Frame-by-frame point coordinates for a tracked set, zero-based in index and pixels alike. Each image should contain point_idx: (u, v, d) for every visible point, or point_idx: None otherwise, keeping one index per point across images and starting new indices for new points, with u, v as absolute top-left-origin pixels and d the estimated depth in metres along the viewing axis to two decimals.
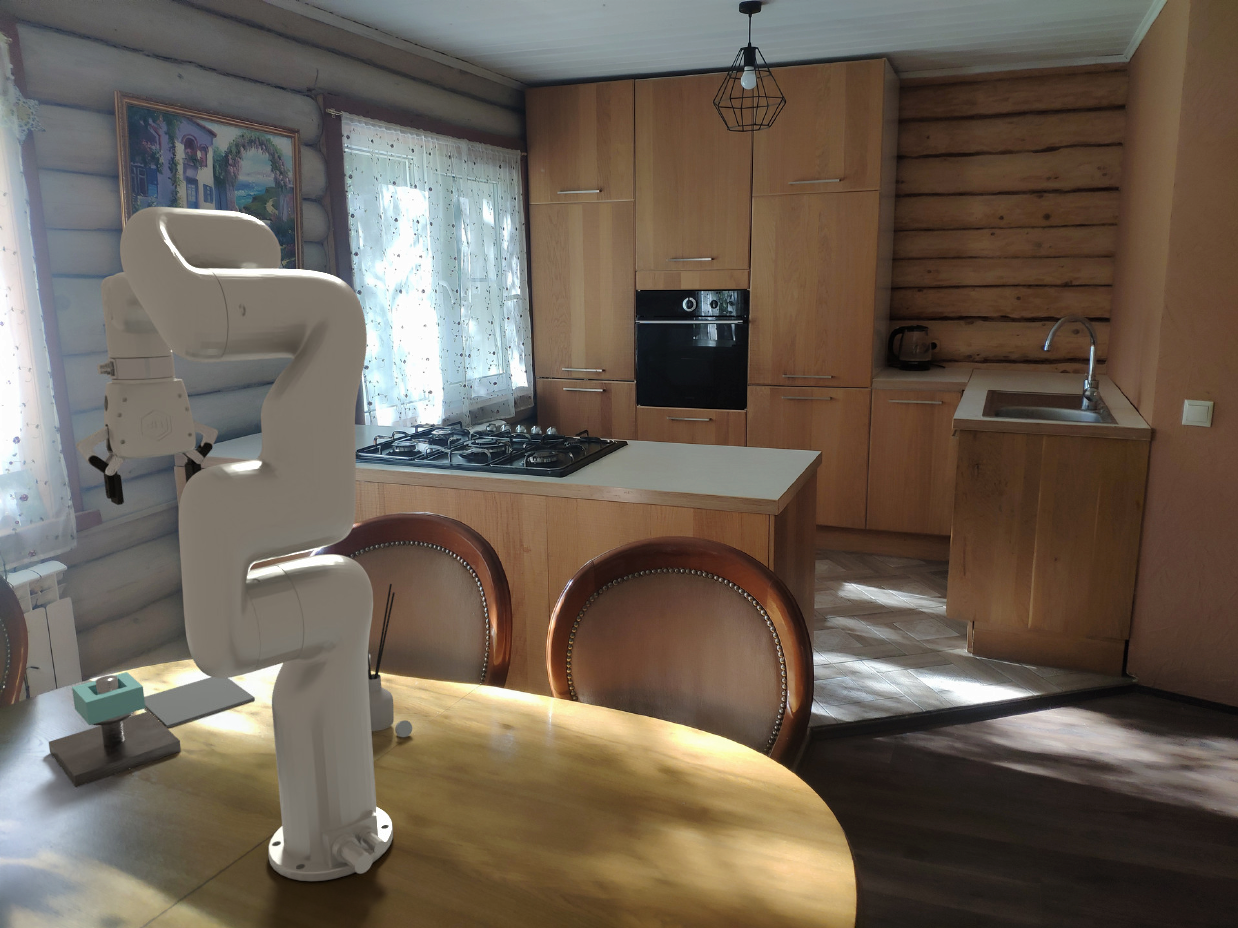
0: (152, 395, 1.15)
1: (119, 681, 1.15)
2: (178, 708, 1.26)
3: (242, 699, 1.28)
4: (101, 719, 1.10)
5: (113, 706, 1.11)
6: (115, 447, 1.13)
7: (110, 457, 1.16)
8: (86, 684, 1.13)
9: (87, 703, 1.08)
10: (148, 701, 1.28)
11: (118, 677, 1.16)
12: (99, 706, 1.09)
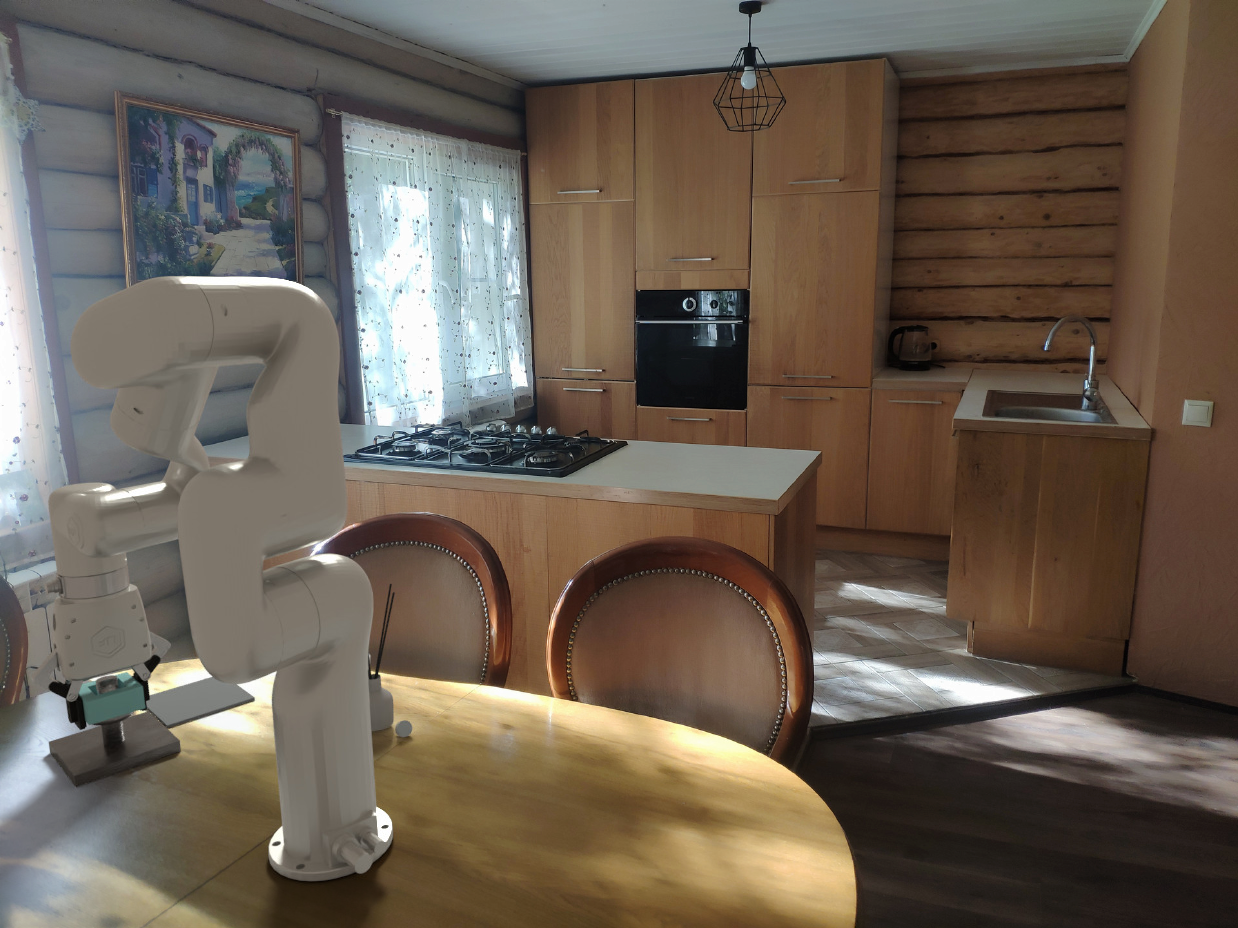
0: (103, 611, 1.09)
1: (119, 681, 1.15)
2: (178, 708, 1.26)
3: (242, 699, 1.28)
4: (101, 719, 1.10)
5: (113, 706, 1.11)
6: (63, 670, 1.07)
7: None
8: (86, 684, 1.13)
9: (87, 703, 1.08)
10: (148, 701, 1.28)
11: (118, 677, 1.16)
12: (99, 706, 1.09)
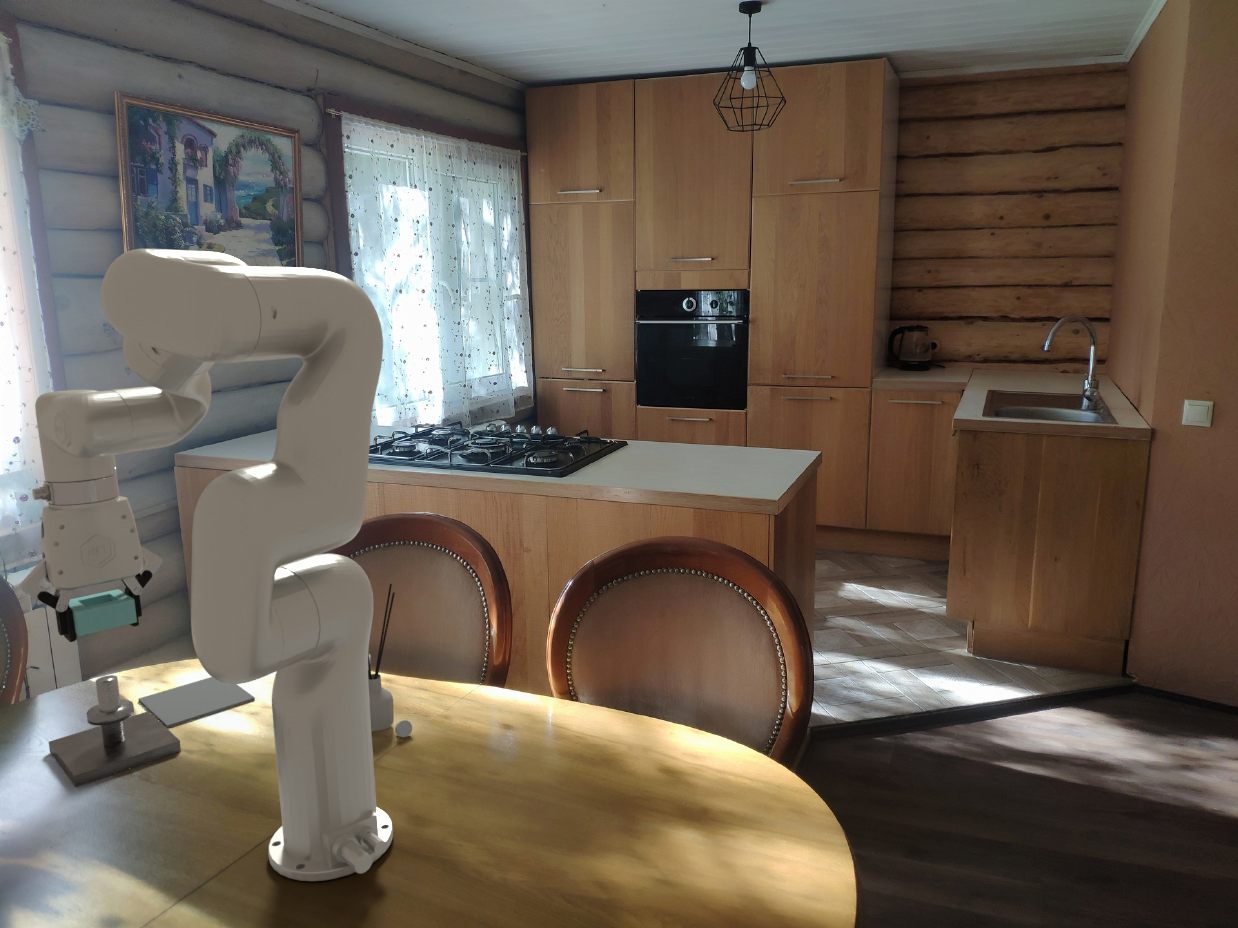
0: (93, 519, 1.07)
1: (110, 597, 1.13)
2: (178, 708, 1.26)
3: (242, 699, 1.28)
4: (92, 631, 1.07)
5: (104, 618, 1.08)
6: (52, 578, 1.05)
7: (58, 590, 1.08)
8: (77, 599, 1.11)
9: (77, 613, 1.06)
10: (148, 701, 1.28)
11: (109, 593, 1.13)
12: (89, 617, 1.07)
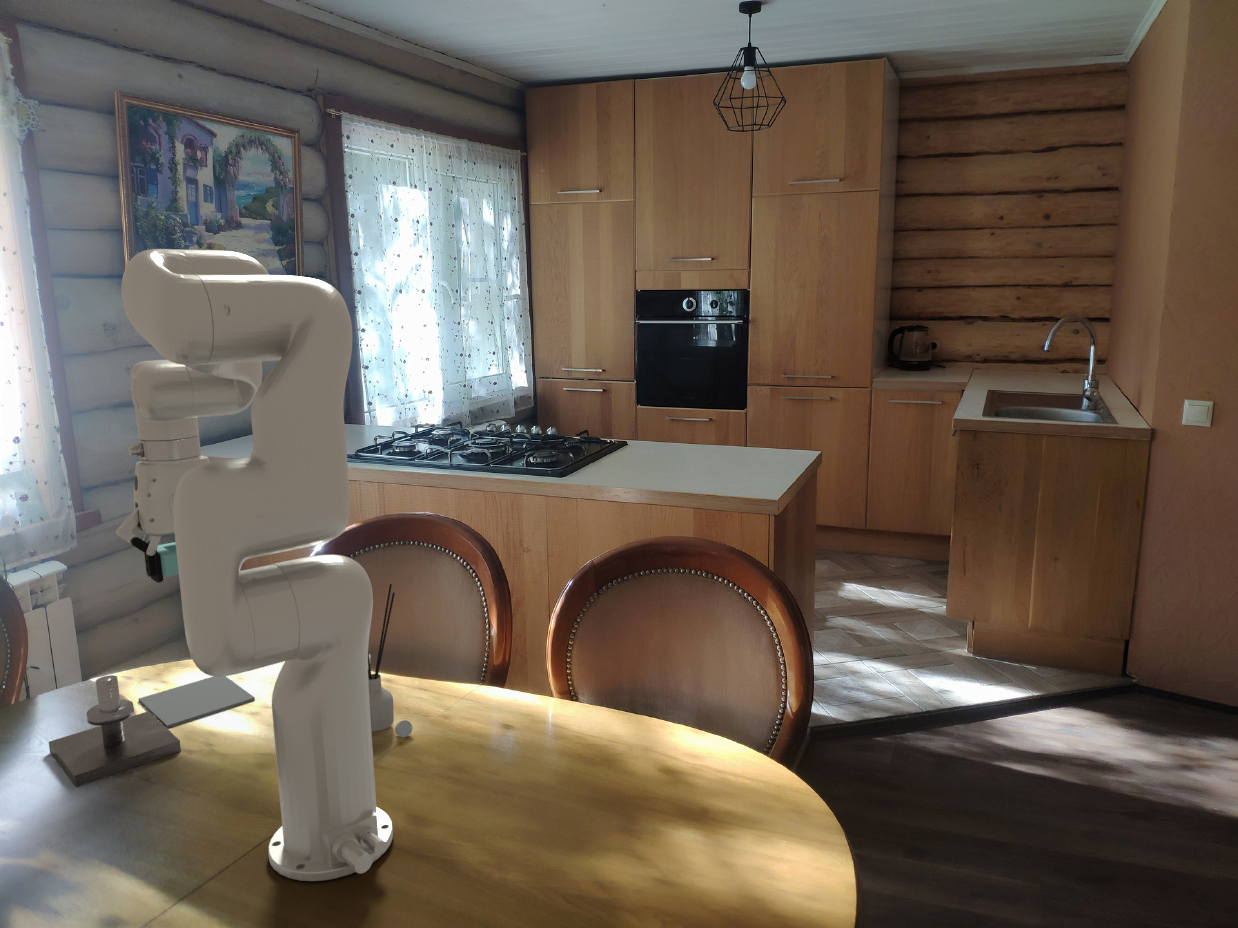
0: (179, 474, 1.21)
1: None
2: (178, 708, 1.26)
3: (242, 699, 1.28)
4: (177, 573, 1.22)
5: None
6: (145, 525, 1.19)
7: (147, 536, 1.22)
8: (161, 545, 1.25)
9: (165, 556, 1.20)
10: (148, 701, 1.28)
11: None
12: (175, 560, 1.21)
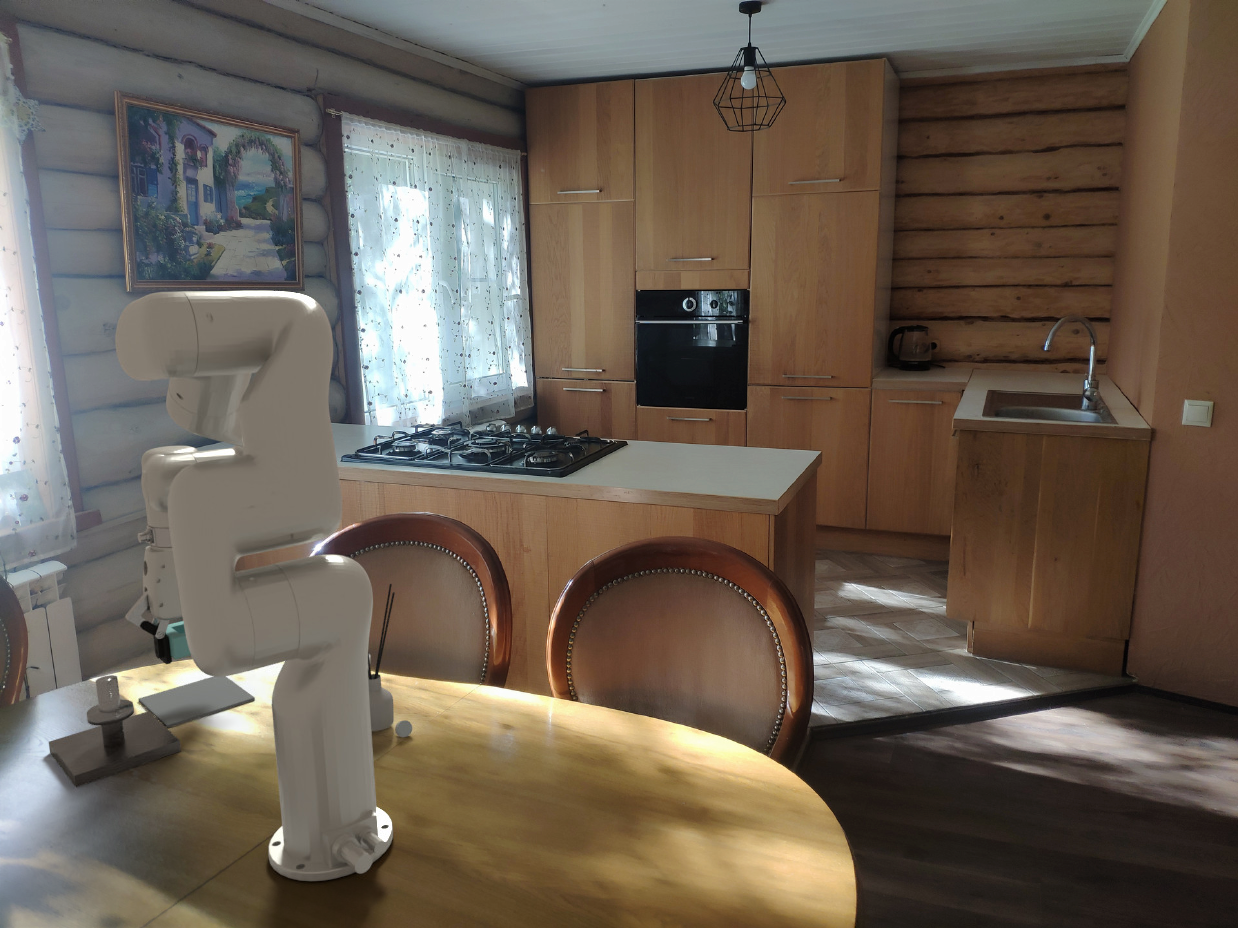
0: None
1: None
2: (178, 708, 1.26)
3: (242, 699, 1.28)
4: (185, 655, 1.24)
5: None
6: (154, 610, 1.21)
7: (156, 619, 1.25)
8: (169, 625, 1.28)
9: (173, 640, 1.23)
10: (148, 701, 1.28)
11: None
12: (183, 643, 1.24)
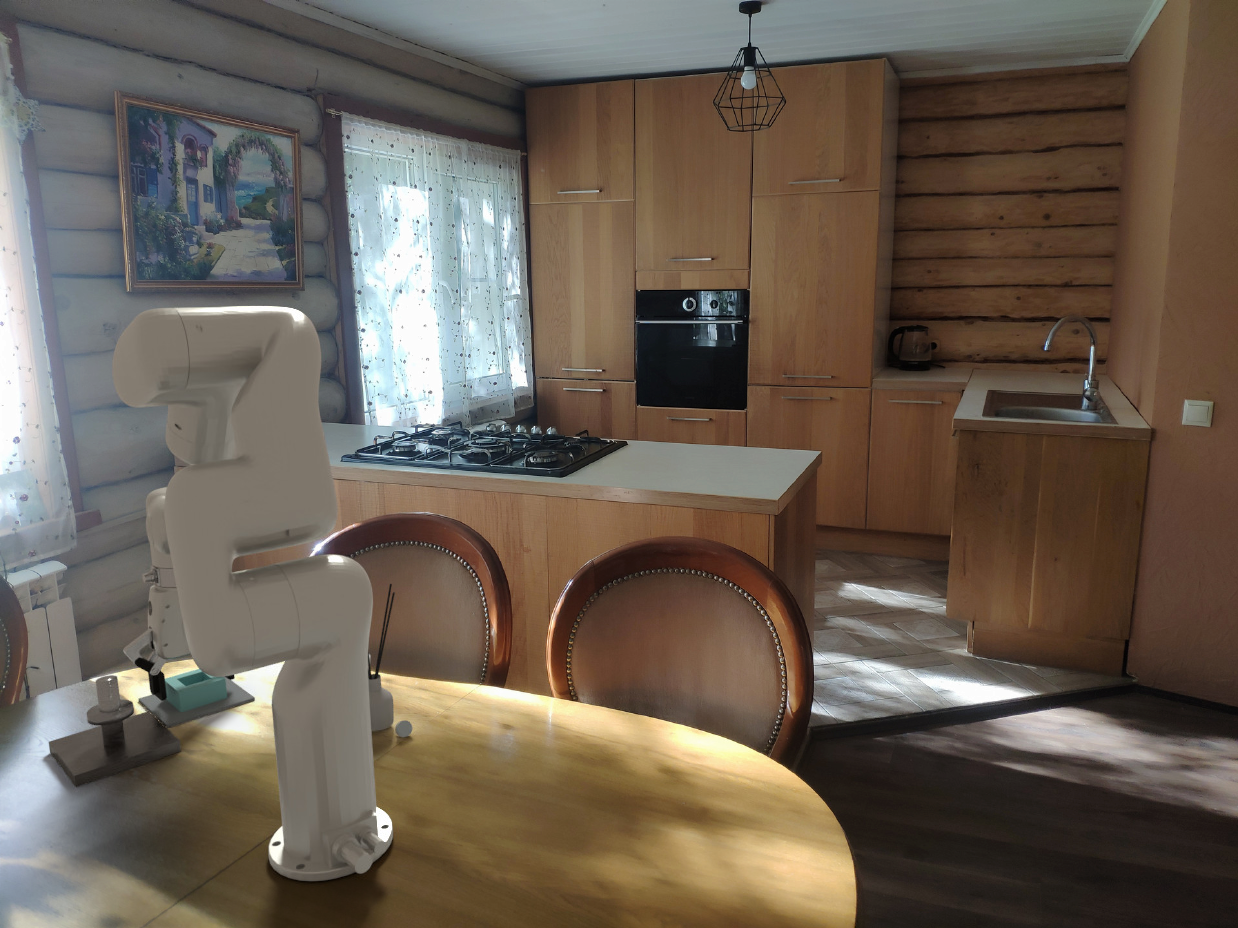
0: None
1: (203, 674, 1.31)
2: None
3: (242, 699, 1.28)
4: (191, 707, 1.25)
5: (201, 696, 1.26)
6: (159, 650, 1.22)
7: (154, 655, 1.25)
8: (175, 676, 1.29)
9: (179, 693, 1.24)
10: (148, 701, 1.28)
11: None
12: (189, 695, 1.25)
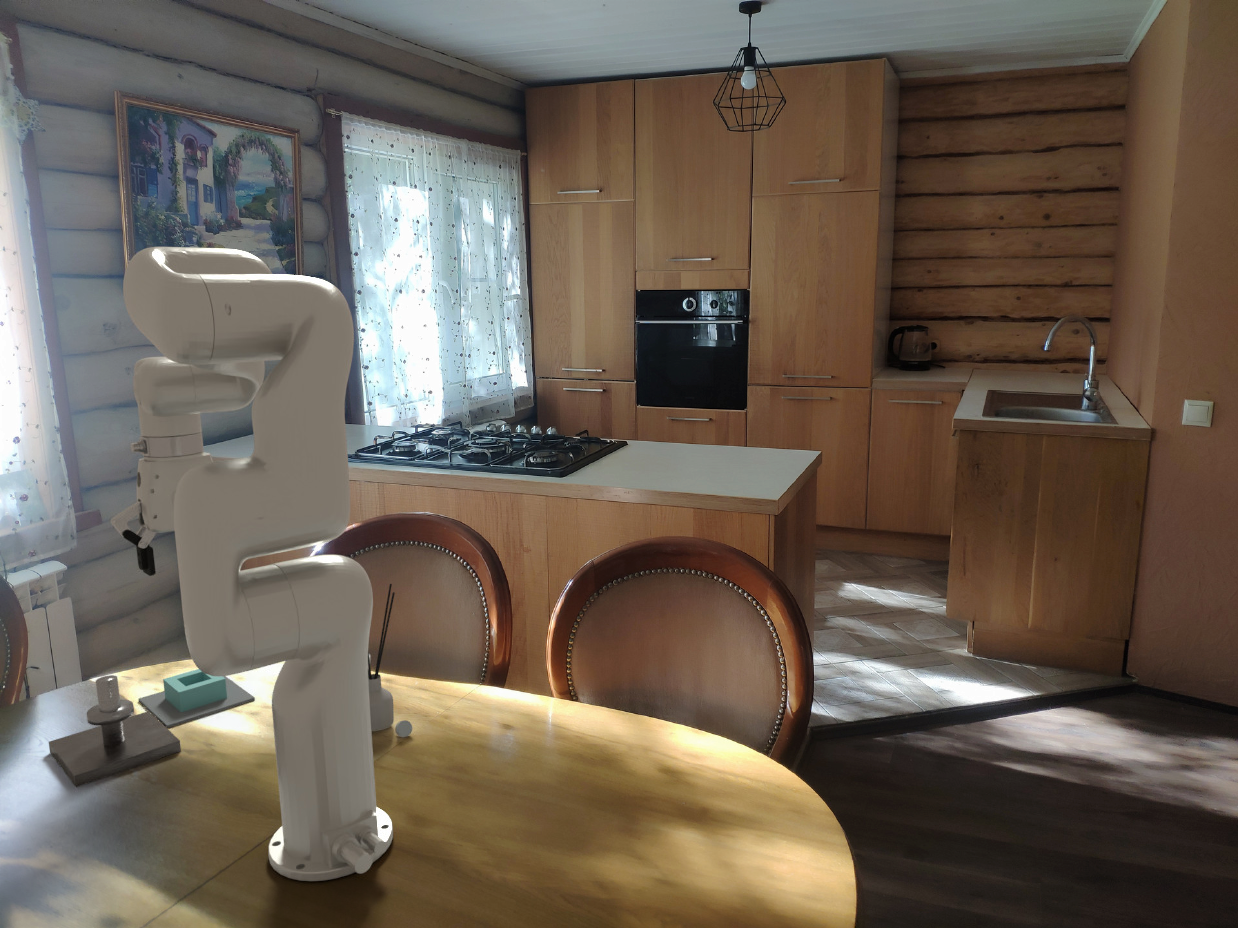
0: (182, 470, 1.21)
1: (203, 674, 1.31)
2: None
3: (242, 699, 1.28)
4: (191, 707, 1.25)
5: (201, 696, 1.26)
6: (148, 522, 1.19)
7: (142, 530, 1.21)
8: (175, 676, 1.29)
9: (179, 693, 1.24)
10: (148, 701, 1.28)
11: None
12: (189, 695, 1.25)
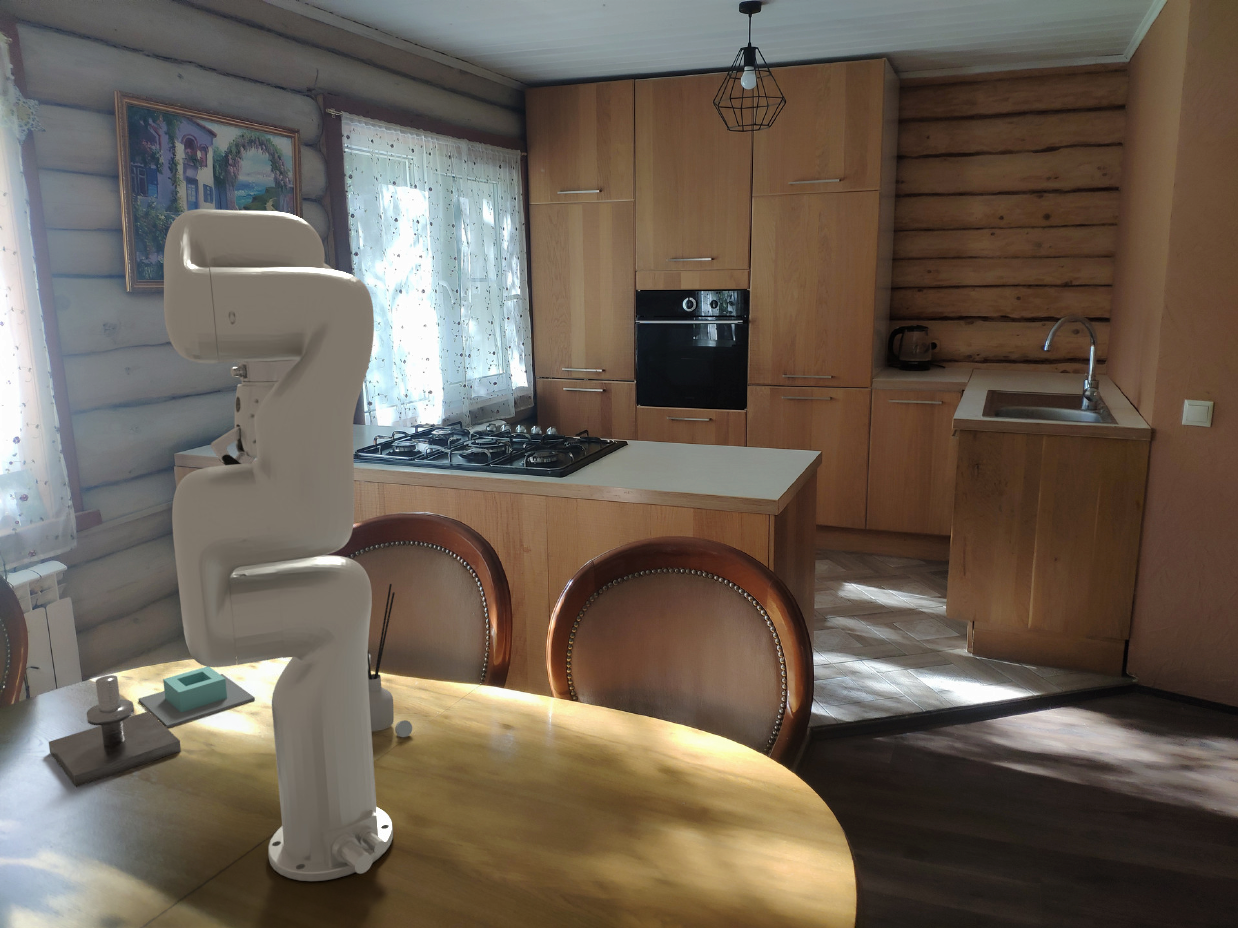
0: None
1: (203, 674, 1.31)
2: None
3: (242, 699, 1.28)
4: (191, 707, 1.25)
5: (201, 696, 1.26)
6: (247, 446, 1.18)
7: (240, 456, 1.21)
8: (175, 676, 1.29)
9: (179, 693, 1.24)
10: (148, 701, 1.28)
11: (202, 670, 1.31)
12: (189, 695, 1.25)
